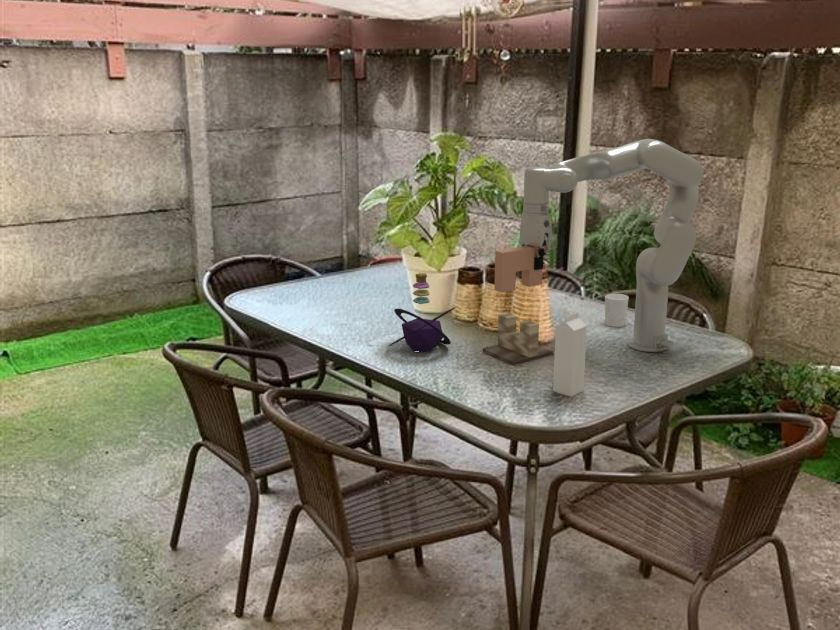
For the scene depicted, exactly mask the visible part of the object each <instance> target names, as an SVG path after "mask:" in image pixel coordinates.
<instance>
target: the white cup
mask: <svg viewBox="0 0 840 630" xmlns="http://www.w3.org/2000/svg"><path fill="white" fill-rule="evenodd" d="M628 307H629V295H626V294H622V293H609V294H605V296H604V318H605V321H604V322H605V325H606V326H609V327H611V326H612V328H622V327H624V326H626V321H627V316H628Z"/></svg>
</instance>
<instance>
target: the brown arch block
mask: <svg viewBox="0 0 840 630" xmlns="http://www.w3.org/2000/svg"><path fill="white" fill-rule="evenodd" d="M539 251H541V249H539ZM494 253H495V254H494V291H496V292H499V293H505V292H506V293H507V292H511V291H515V290H516V283H517V282H516V280H517V272H521V286H524V287H529V288H530V287H536V286H540V285H543V269H540V270H534V257H536V251H535V247H533V246H529V245H528V246H517V247H511V248H505V249H498V250H495V251H494Z"/></svg>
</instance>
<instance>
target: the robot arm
mask: <svg viewBox="0 0 840 630" xmlns="http://www.w3.org/2000/svg"><path fill="white" fill-rule="evenodd" d="M646 169H647V170H650V171H652V172H653V173H655V174H658V175H659V176H660V177H663V179H665V180H666V181H667V184H668V187H669V194H668V198H667V200H666V204H665V206H664V208H663V210H662V212H661V214H660V216H659V218H658V221H657V223H656V225H655V226H654V230H653V237H654V238H655V240H656V242H657V243H659V247H647V248H645V249H644V250H642V251H641V252H640V253H639V255H638V256H637V260H636V262H635V263H636V264H635V265H636V266H635V275H636V276H635V277H636V292H635V293H636V294H635V304H634V305H635V309H634V321H633V322H634V324H633V336H632V337H631V338H629V339H628V340H627V345H628V346H629V347H630V348H631V349H634V350H637V351H640V352H647V353H657V352H658V353H659V352H665V351H666V350H668V349H671V348H672V346H673V345H674V341H673V340H670V339H668V334H667V333H666V326H667V325H666V322H667V313H668V312H667V310H668V300H669V286H671V285H673V284H674V283H675V282H676V281H677V280H678V279H679V278H680V277H681V275H682V273H683V270H684V268H685V267H686V264H687V262H688V260H689V258H690V257H691V254H692V252H693V250H694V247H695V246H696V245H695V244H696V242H697V241H696V240H697V233H696V229H695V227H694V226H693V225H692V224H691V223H690V222H691V220H692V217H693V216H694V212H695V211H696V208H697V205H698V201H699V195H700V193H699V192H700V191H699V190H700V189H699V184H700V183H701V181H702V179H703V177H704V167H703V165H702V164H701V162H700V161H698V160H697V159H696V158H693V157H692V156H690V155H687V154H686V153H684V152H682V151H680V150H678V149H676V148H674V147H672V146H671V145H669V144H667V143H665V142H663V141H662V140H658V139H652V138H644V139H643V138H642V139H640V140H636V141H632V142H630V143H626V144H623V145H619V146H616V147H613V148H610V149H607V150H603V151H598V152H594V153H591V154H586V155H581V156H577V157H573V158H570V159H566V160H564V161H561V162H558V163H557V162H556V163H554V164H552V165H551V166H550V167H546V166H529V167H526V168H525V170H524V172H523V173H524V175H523V177H524V178H523V204H522V205H523V208H522V214H521V219H520V225H519V240H518V244H519V245H520V247H522V246H528V245H529V246H533V247H535V251H536V257H534V270H540V269H542V270H543V269H544V257H546V254H547V253H548V252H550V251H552V243H553V230H552V229H553V228H552V219H551V214H550V213H549V211H550V192H555V193H569V192H571V191H574V189H575V188H576V187H577V185H578V183H579V182H583V181H588V180H589V181H590V180H611V179H616V178H619V177H622V176H625V175H627V174H631V173H635V172H639V171H642V170H646ZM539 249H541V251H539Z"/></svg>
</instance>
